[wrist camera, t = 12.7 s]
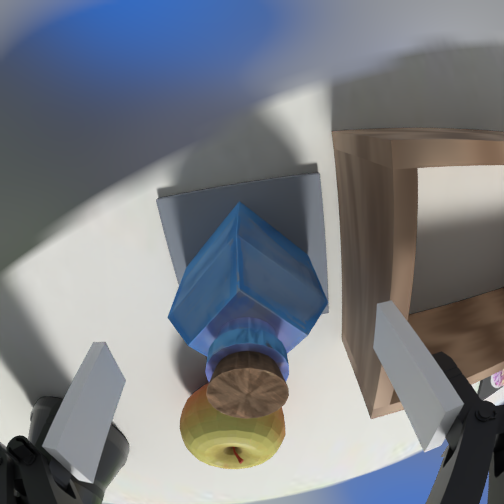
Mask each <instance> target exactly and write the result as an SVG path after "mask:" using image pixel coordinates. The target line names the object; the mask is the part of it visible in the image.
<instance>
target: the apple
mask: <svg viewBox="0 0 504 504" xmlns="http://www.w3.org/2000/svg"><path fill="white" fill-rule="evenodd" d="M208 384H209V383H208ZM208 384H205V385H204V386H202V387H201V388H200V389H198V390H197V391H195V392H194V393H193V394H192V395H191V396H190V397H189V398H188V400H187V402H186V404H185V406H184V408H183V411H182V414H181V418H180V431H181V435H182V439H183V441H184V443H185V446H186V448H187V449H188V450H189V451H190V452H191V453H192V454H193V455H194V456H195V457H196V458H197V459H198V460H200V461H202V462H204V463H206V464H208V465H211V466H215V467H220V468H225V469H242V468H249V467H253V466H256V465H259V464H262V463H264V462H265V461H267V460H268V459H270V458H271V457H272V456H273V455H274V454H275V453H276V452H277V450H278V449H279V447H280V445H281V443H282V441H283V439H284V437H285V422H284V415H283V411H282V407H281V408H280V409H279V410H277V411H275V412H273V413H271V414H269V415H266V416H263V417H259V418H247V419H245V418H236V417H232V416H229V415H226V414H223V413H221V412H220V411H218V410H216V409H215V408H214V407H213V406H212V405H211V404H210V403H209V402H208V399H207V396H206V391H207V386H208Z"/></svg>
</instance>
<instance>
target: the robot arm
mask: <svg viewBox="0 0 504 504" xmlns="http://www.w3.org/2000/svg"><path fill="white" fill-rule="evenodd" d="M373 349H374V350H375V352H376V354H377V356H378V358H379V360H380V362H381V364H382V366H383V368H384V370H385V372H386V374H387V375H388V377H389V379H390V381H391V383H392V385H393V387H394V389H395V391H396V393H397V395H398V397H399V399H400V401H401V404H402V406H403V408H404V410H405V412H406V414H407V416H408V418H409V420H410V422H411V424H412V427H413V429H414V431H415V433H416V435H417V437H418V439H419V442H420V444H421V446H422V448H423V451H424V452H426V451H429V450H431V449H433V448H436V447H438V446H440V445H441V444H442V443H443V441H444V439H445V438H446V440H447V441H448V443H449V445H448V446H447V448H446V449H445V451H444V452H443V454H442V456H441V457H444V458H443V461H442V464H441V467H440V470H439V472H438V475H437V477H436V480H435V483H434V485H433V487H432V490H431V492H430V495H429V497H428V499H427V502H426V504H479V503H480V500H481V496H482V493H483V489H484V486H485V483H486V479H487V475H488V471H489V489H488V490H489V491H488V504H504V405H499V406H495V405H494V404H493V403H491V402H489V401H482V400H481V399H480V398H479V396H478V395H477V393H476V392H475V390H474V389H473V387H472V386H471V384H470V383H469V382H468V380H467V379H466V377H465V376H464V375H463V374H462V372H461V370H460V369H459V368H458V367H457V365H456V363H455V362H454V361H453V359H452V358H451V357H450V356H448V355H447V354H445V353H444V352H442V351H441V352H438V353H435V354H432V355H431V353H430V352H429V351H428V349H427V348H426V346H425V345H424V343H423V342H422V341H421V339H420V338H419V337H418V335H417V334H416V332H415V331H414V330H413V328H412V327H411V326H410V324H409V323H408V321H407V320H406V319H405V317H404V316H403V315H402V313H401V312H400V311H399V309H398V308H397V307H396V305H395V304H394V303H393V302H392V300H391V301H387V302H382V303H378V304H377V312H376V324H375V335H374V345H373ZM125 382H126V380H125V378H124V376H123V374H122V372H121V371H120V369H119V367H118V365H117V363H116V361H115V360H114V358H113V356H112V354H111V352H110V350H109V348H108V346H107V344H106V342H93V344H92V346H91V347H90V349H89V351H88V353H87V355H86V357H85V358H84V360H83V362H82V364H81V366H80V368H79V370H78V372H77V374H76V375H75V377H74V379H73V381H72V383H71V385H70V387H69V389H68V391H67V393H66V395H65V397H64V399H60V398H55V397H43V398H40V399H39V400H38V401H37V402H36V404H35V406H34V408H33V410H32V412H31V418H30V420H31V425H30V430H29V437H28V439H27V438H26V437H24V436H20V435H19V436H16V437H14V438H12V439H11V440H10V442H9V443H8V445H7V447H6V446H4V445H3V444H2V443H1V442H0V504H102V501H103V497H104V493H105V490H106V488H107V487H108V485H109V484H110V483H111V481H112V480H113V479H114V477H115V476H116V475H117V473H118V472H119V470H120V469H121V467H123V466H124V465H125V463H126V460H127V457H128V453H129V444H128V442H127V440H126V439H125V438H124V436H123V435H122V434H121V433H120V432H119V431H118V430H117V429H116V428H115V427H113V426H112V425H111V422H112V419H113V416H114V413H115V410H116V407H117V404H118V402H119V399H120V396H121V393H122V390H123V387H124V385H125Z"/></svg>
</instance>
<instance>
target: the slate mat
mask: <svg viewBox="0 0 504 504" xmlns="http://www.w3.org/2000/svg"><path fill="white" fill-rule="evenodd" d="M239 201H240V202H241V203H242V204H244V205H245V206H246V207H248V208H249V209H250V210H251V211H253V212H254V213H255V214H257V215H258V216H259V217H260V218H262V219H263V220H264V221H266V222H267V223H268V224H269V225H271V226H272V227H273V228H275V229H276V230H277V231H278V232H280V233H281V234H282V235H283V236H285V237H286V238H287V239H289V240H290V241H291V242H292V243H294V244H295V245H296V246H297V247H299V248H300V249H301V250H302V251H304V252H305V253H306V254H307V255H308V256H309V258H310V260H311V263H312V265H313V267H314V270H315V272H316V274H317V277H318V279H319V281H320V284H321V286H322V288H323V291H324V293H325V296H326V298H327V300H328V279H327V259H326V242H325V228H324V215H323V203H322V192H321V181H320V174H319V173H318V172H316V173H308V174H300V175H292V176H285V177H277V178H270V179H263V180H257V181H250V182H244V183H237V184H231V185H225V186H219V187H214V188H208V189H202V190H197V191H192V192H186V193H181V194H176V195H171V196H166V197H161V198H158V199H157V200H156V202H157V206H158V210H159V214H160V218H161V222H162V226H163V230H164V234H165V238H166V241H167V245H168V249H169V252H170V256H171V260H172V263H173V267H174V270H175V274H176V277H177V280H178V284H179V285H180V283H181V280H182V277H183V275H184V272H185V270H186V267H187V266H188V265H189V263H190V262H191V261H192V259H193V258H194V257H195V256H196V254H197V253H198V252H199V251H200V249H201V248H202V247H203V246H204V244H205V243H206V242H207V241H208V239H209V238H210V237H211V236H212V234H213V233H214V232H215V231H216V229H217V228H218V227H219V226H220V224H221V223H222V222H223V221H224V219H225V218H226V217H227V216H228V214H229V213H230V212H231V211H232V210H233V208H234V207H235V206H236V205H237V203H238V202H239ZM325 313H329V307H328V304H327V306H326V307H325V309H324V311H323V312H322V314H325Z"/></svg>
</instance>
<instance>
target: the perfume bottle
mask: <svg viewBox="0 0 504 504" xmlns="http://www.w3.org/2000/svg"><path fill="white" fill-rule="evenodd" d="M327 304H328V300H327V298H326V296H325V293H324V291H323V288H322V286H321V284H320V281H319V279H318V277H317V274H316V272H315V270H314V267H313V265H312V263H311V260H310V258H309V256H308V255H307V254H306V253H305V252H304V251H302V250H301V249H300V248H299V247H297V246H296V245H295V244H294V243H292V242H291V241H290V240H289V239H287V238H286V237H285V236H283V235H282V234H281V233H280V232H278V231H277V230H276V229H275V228H273V227H272V226H271V225H269V224H268V223H267V222H266V221H264V220H263V219H262V218H260V217H259V216H258V215H257V214H255V213H254V212H253V211H251V210H250V209H249V208H248V207H246V206H245V205H244V204H242V203H241V202H240V201H239V202H238V203H237V205H236V206H235V207H234V208H233V210H232V211H231V212H230V213H229V214H228V216H227V217H226V218H225V219H224V221H223V222H222V223H221V224H220V226H219V227H218V228H217V229H216V231H215V232H214V233H213V234H212V236H211V237H210V238H209V239H208V241H207V242H206V243H205V244H204V246H203V247H202V248H201V249H200V251H199V252H198V253H197V254H196V256H195V257H194V258H193V259H192V261H191V262H190V263H189V265H188V266H187V267H186V270H185V272H184V275H183V277H182V280H181V283H180V285H179V288H178V291H177V293H176V296H175V299H174V302H173V304H172V307H171V310H170V313H169V315H168V319H169V320H170V321H171V323H172V324H173V326H174V327H175V329H176V330H177V331H178V333H179V334H180V335H181V337H182V338H183V340H184V341H185V342H186V344H187V345H188V346H189V347H191V348H193V349H195V350H196V351H198V352H200V353H201V354H203V355H205V356H207V363H206V370H205V373H206V376H207V379H208V381H209V384H208V386H207V391H206V396H207V399H208V402H209V403H210V404H211V405H212V406H213V407H214V408H215V409H216V410H218V411H220V412H221V413H223V414H226V415H229V416H232V417H236V418H245V419H247V418H259V417H263V416H266V415H269V414H271V413H273V412H275V411H277V410H279V409H280V408H281V407H282V406H283V405H284V404H285V403H286V401H287V398H288V396H289V393H288V386H287V384H286V380H287V378H288V375H289V365H288V358H287V353H288V352H289V351H291V350H292V349H293V348H294V347H295V346H296V345H297V344H299V343H300V342H301V341H302V340H303V339H304V338H305V337H306V336H308V334H309V333H310V331H311V329H312V328H313V326H314V325H315V323H316V322H317V320H318V319H319V317H320V315H321V314H322V312H323V311H324V309H325V307H326V306H327Z"/></svg>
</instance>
